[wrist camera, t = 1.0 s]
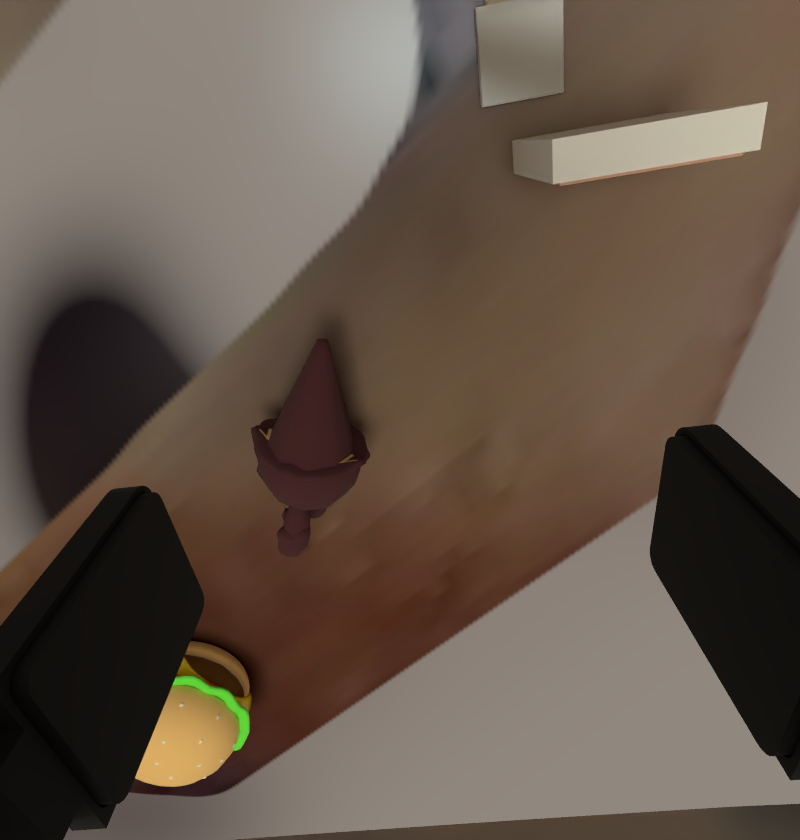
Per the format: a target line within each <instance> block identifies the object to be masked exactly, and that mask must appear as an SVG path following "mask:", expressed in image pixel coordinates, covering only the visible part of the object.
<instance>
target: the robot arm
mask: <svg viewBox="0 0 800 840" xmlns="http://www.w3.org/2000/svg"><path fill="white" fill-rule="evenodd" d="M650 558H651V562H652V565H653V568H654V569H655V571H656V573H657V575H658V576H659V578H660V580H661V582H662V583H663V585H664V587H665V588H666V590H667V592H668V594H669V595H670V597H671V598H672V600H673V602H674V604H675V605H676V607H677V609H678V610H679V612H680V614H681V615H682V617H683V619H684V621H685V622H686V624H687V625H688V627H689V629H690V631H691V632H692V634H693V636H694V637H695V639H696V641H697V642H698V644H699V646H700V647H701V649H702V651H703V653H704V654H705V656H706V658H707V659H708V661H709V662H710V664H711V666H712V668H713V669H714V671H715V673H716V675H717V676H718V678H719V680H720V681H721V683H722V685H723V686H724V688H725V690H726V691H727V693H728V695H729V696H730V698H731V700H732V702H733V703H734V705H735V707H736V708H737V710H738V712H739V713H740V715H741V717H742V718H743V720H744V722H745V723H746V725H747V727H748V729H749V730H750V732H751V733H752V735H753V737H754V739H755V740H756V742H757V744H758V745H759V746H760V748H761V749H762V750H763V751H764V752H765V753H766V754H767V755H769V756H776V757H777V759H778V761H779V762H780V764H781V766H782V767H783V769H784V771H785V772H786V774H787V776H788V777H789V779H790V780H800V498H799V497H797V496H796V495H795V494H794V493H793V492H792V491H791V490H790V489H788V488H787V487H786V486H785V485H784V484H783V483H782V482H781V481H780V480H779V479H777V478H776V477H775V476H774V475H773V474H772V473H771V472H770V471H769V470H768V469H766V468H765V467H764V466H763V465H762V464H761V463H760V462H759V461H758V460H756V459H755V458H754V457H753V456H752V455H751V454H750V453H749V452H748V451H746V450H745V449H744V448H743V447H742V446H741V445H740V444H739V443H738V442H736V441H735V440H734V439H733V438H732V437H731V436H730V435H729V434H728V433H727V432H725V431H724V430H723V429H722V428H721V427H719V426H718V425H714V424H711V425H702V426H693V427H683V428H680V429H678V431H677V432H676V434H675V437H670V438H668V440H667V442H666V445H665V452H664V459H663V465H662V472H661V479H660V485H659V492H658V499H657V505H656V512H655V519H654V526H653V532H652V539H651V545H650ZM203 606H204V596H203V592H202V590H201V587H200V585H199V583H198V580H197V578H196V576H195V574H194V571H193V569H192V567H191V565H190V562H189V560H188V558H187V555H186V553H185V551H184V549H183V546H182V544H181V542H180V540H179V537H178V535H177V533H176V530H175V528H174V526H173V524H172V521H171V519H170V517H169V515H168V512H167V510H166V508H165V505H164V503H163V501H162V499H161V497H160V495H159V494H157V493H155V492H151V490H150V489H149V488H148V487H146V486H136V487H127V488H118V489H113V490H111V491H110V492H108V493H107V494H106V496H105V497H104V498H103V499H102V501H101V502H100V503H99V504H98V506H97V507H96V508H95V509H94V511H93V512H92V513H91V514H90V516H89V517H88V518H87V519H86V520H85V522H84V523H83V524H82V525H81V527H80V528H79V529H78V530H77V532H76V533H75V534H74V535H73V537H72V538H71V539H70V540H69V542H68V543H67V544H66V545H65V547H64V548H63V549H62V550H61V552H60V553H59V554H58V555H57V557H56V558H55V559H54V560H53V561H52V563H51V564H50V565H49V566H48V568H47V569H46V570H45V571H44V573H43V574H42V575H41V576H40V578H39V579H38V580H37V581H36V583H35V584H34V585H33V586H32V588H31V589H30V590H29V591H28V593H27V594H26V595H25V596H24V597H23V599H22V600H21V601H20V602H19V604H18V605H17V606H16V607H15V609H14V610H13V611H12V612H11V614H10V615H9V616H8V617H7V619H6V620H5V621H4V622H3V624H2V625H1V626H0V840H63V839H64V837H65V835H66V832H67V830H68V828H69V827H70V829H71V830H72V831H73V830H87V829H101V828H107V825H108V823H109V821H110V818H111V816H112V813H113V811H114V808H115V806H116V804H119V803H120V802H122V801H123V800H124V799H125V798H126V796H127V795H128V793H129V791H130V789H131V786H132V784H133V781H134V779H135V776H136V774H137V771H138V769H139V766H140V764H141V761H142V759H143V757H144V754H145V752H146V749H147V747H148V744H149V742H150V739H151V737H152V734H153V732H154V729H155V727H156V725H157V722H158V720H159V717H160V715H161V712H162V710H163V707H164V705H165V702H166V700H167V698H168V695H169V693H170V690H171V688H172V685H173V683H174V680H175V678H176V675H177V673H178V670H179V668H180V666H181V663H182V661H183V658H184V656H185V653H186V651H187V648H188V646H189V643H190V641H191V638H192V636H193V634H194V631H195V629H196V626H197V624H198V621H199V619H200V616H201V614H202V611H203ZM238 840H800V804H787V805H765V806H742V807H722V808H707V809H690V810H674V811H658V812H642V813H626V814H611V815H595V816H594V815H593V816H577V817H561V818H546V819H531V820H514V821H500V822H485V823H469V824H454V825H439V826H426V827H410V828H395V829H380V830H366V831H352V832H337V833H324V834H307V835H293V836H278V837H265V838H253V839H252V838H251V839H238Z"/></svg>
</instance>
